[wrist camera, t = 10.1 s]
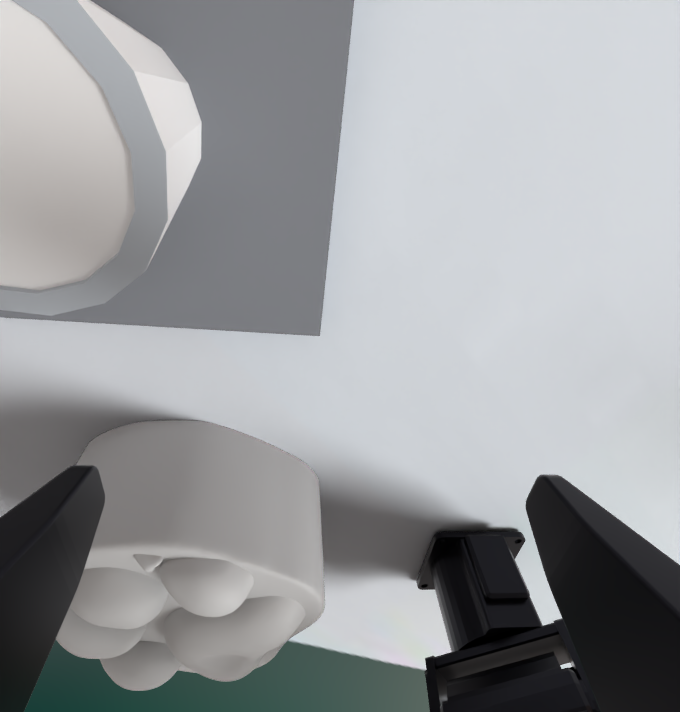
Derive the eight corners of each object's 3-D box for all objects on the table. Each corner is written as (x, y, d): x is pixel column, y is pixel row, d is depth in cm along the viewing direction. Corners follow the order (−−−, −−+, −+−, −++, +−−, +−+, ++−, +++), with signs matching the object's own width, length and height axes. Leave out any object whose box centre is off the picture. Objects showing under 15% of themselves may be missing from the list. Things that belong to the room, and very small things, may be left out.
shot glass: (-44, 126, 14) (-304, 163, 8) (57, -87, 11) (-207, -266, 5) (151, 265, 16) (69, 368, 11) (263, 121, 14) (238, 151, 8)
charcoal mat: (319, 325, 20) (319, 336, 19) (-40, 303, 18) (-57, 313, 17) (366, -157, 12) (371, -174, 11) (-281, -293, 10) (-335, -327, 9)
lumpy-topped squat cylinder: (257, 561, 30) (243, 717, 22) (58, 504, 25) (-41, 679, 18) (340, 470, 25) (356, 628, 18) (117, 381, 21) (19, 546, 13)
